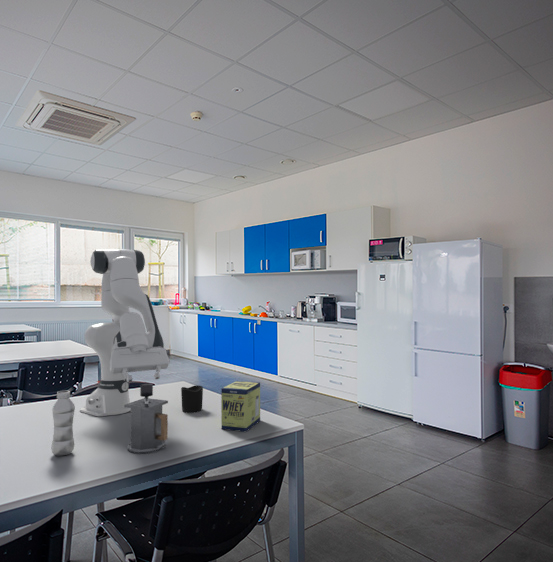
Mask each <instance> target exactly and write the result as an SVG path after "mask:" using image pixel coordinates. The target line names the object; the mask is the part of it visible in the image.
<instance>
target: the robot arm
mask: <svg viewBox="0 0 553 562" xmlns="http://www.w3.org/2000/svg"><path fill="white" fill-rule="evenodd" d="M145 264H146V259H145V255H144V253H143V252H142V251H140V250H137V249H128V248H108V249H103V248H100V249H95V250H94V251H93V252H92V254H91V256H90V266H91V268H92V271H93V272H94V273H96V274H100V275H102V278H101V288H100V289H101V293H100V294H101V297H100V299H101V300H100V301H101V303H100V305H101V309H102V310H103V312H105V313H106V314H109V315H110V316H111V318H112V320H113V321H112V322H100V323H95V324H92V325H91V324H90V325H88V327H87V328H86V330H85V333H84V341H85V343H86V345H87V346H88V347H89V348H91V350H94V353H96V355H97V356H98V358H99V362H100V370H101V371H100V374H101V375H100V380H96V384H98V385H97V388H96V389H94V390H93V391H92V392H91V393H90V394H89V395H88V396H87V397H86V400H85V406H82V407H81V408H80V409H79V412H81V413H84V414H88V415H91V416H94V417H105V416H113V415H115V416H116V415H122V414H126V413H128V412H131V408H126V407H124V405H125V404H128V403H131V398H130V392H129V386H130V383H131V382H132V381H133V375H131V374H129V373H134V372H145V371H155V373H154V375H153V378H154V380H160V378H161V374H160V372H161V370H166V369H168V367H169V365H170V358H169V356H168V354H167V353H168V352H167V350H166V348H165V347H164V346H165V345H164V344H165V343H164V340H163V336H162V333H161V331H160V329H159V325H158V321H157V319H156V315H155V311H154V308H153V305H152V304H153V303H152V300H151V299H150V296H149V295H148V294H146V293H145V292H144V291H143V290H142V288H141V286H140V281H139V274H141V273H142V272H143V270H144V269H145ZM130 308H132V309H135V310H136V311H138V312H139V313H140V314H139V313H138V312H131V311H130ZM141 315H142V316H141ZM146 331H147V332H146Z"/></svg>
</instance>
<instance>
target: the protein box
mask: <svg viewBox="0 0 553 562" xmlns="http://www.w3.org/2000/svg"><path fill="white" fill-rule="evenodd" d="M220 393H221V395H220V397H221V399H220V400H221V402H220V403H221V408H220V409H221V417H220V418H221V430H225V429H230V430H229V431H235V430H240V431H239V432H244V431H247V430H248V429H249V430H251V428H253V427H254V426H255V425H257V424H258V423H259V422H260V421H261V382H259V381H258V382H257V381H247V380H245V381H244V380H236V381H234V382H232V383H230V384H228V385H225V386H224V387H222V388H221V392H220ZM257 422H258V423H257ZM253 425H254V426H253ZM252 426H253V427H252ZM249 430H248V431H249ZM248 431H247V432H248Z"/></svg>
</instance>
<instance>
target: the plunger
mask: <svg viewBox="0 0 553 562" xmlns="http://www.w3.org/2000/svg"><path fill="white" fill-rule="evenodd" d="M153 386H154V384H153V383H143V384H140V387H139V388H140V389H139V392H140V393H139V394H140V397H143V398H145V404H148V398H149V397H153V395H154V394H153V393H154V390H153V388H154V387H153Z"/></svg>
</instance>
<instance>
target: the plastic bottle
mask: <svg viewBox="0 0 553 562" xmlns="http://www.w3.org/2000/svg"><path fill="white" fill-rule="evenodd" d="M70 398H71V391H70V390H60V391H57V392H56V399H57V400H56V401H55V403H54V405H53V407H52V410H51V411H52V420H53V435H52V437H53V438H52V442H51V454H52V455H54V456H58V457H59V456H65V455H69V454H71V453H72V452H73V451H74V449H75V445H76V444H75V438H74V431H73V430H74V429H73V424H74V415H75V410H76V409H75V408H76V407H75V403H74V402H73V401H72V400H71V399H70Z"/></svg>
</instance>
